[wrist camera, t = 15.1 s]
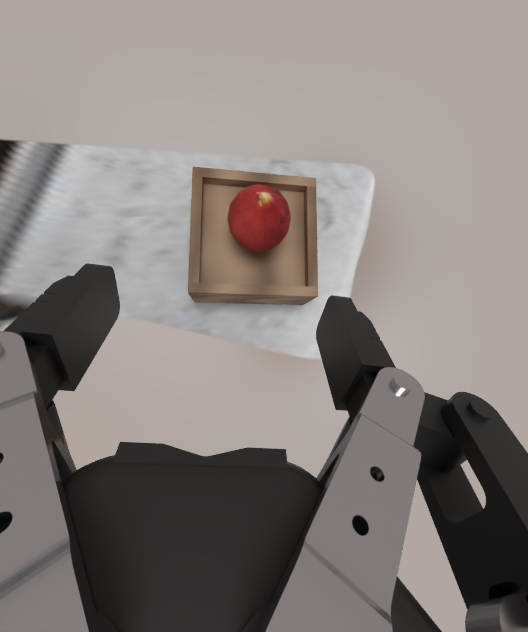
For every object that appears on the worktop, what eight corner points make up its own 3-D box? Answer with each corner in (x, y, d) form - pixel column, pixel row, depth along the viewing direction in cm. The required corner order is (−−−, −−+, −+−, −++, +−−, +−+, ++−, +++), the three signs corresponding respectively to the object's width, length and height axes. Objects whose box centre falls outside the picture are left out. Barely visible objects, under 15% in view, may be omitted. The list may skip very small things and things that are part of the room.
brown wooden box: (194, 302, 33) (188, 292, 27) (198, 199, 34) (192, 166, 28) (301, 305, 35) (317, 296, 28) (300, 206, 36) (315, 178, 30)
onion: (260, 200, 30) (274, 146, 22) (291, 243, 30) (317, 204, 22) (216, 227, 29) (214, 181, 21) (248, 272, 29) (259, 242, 21)
